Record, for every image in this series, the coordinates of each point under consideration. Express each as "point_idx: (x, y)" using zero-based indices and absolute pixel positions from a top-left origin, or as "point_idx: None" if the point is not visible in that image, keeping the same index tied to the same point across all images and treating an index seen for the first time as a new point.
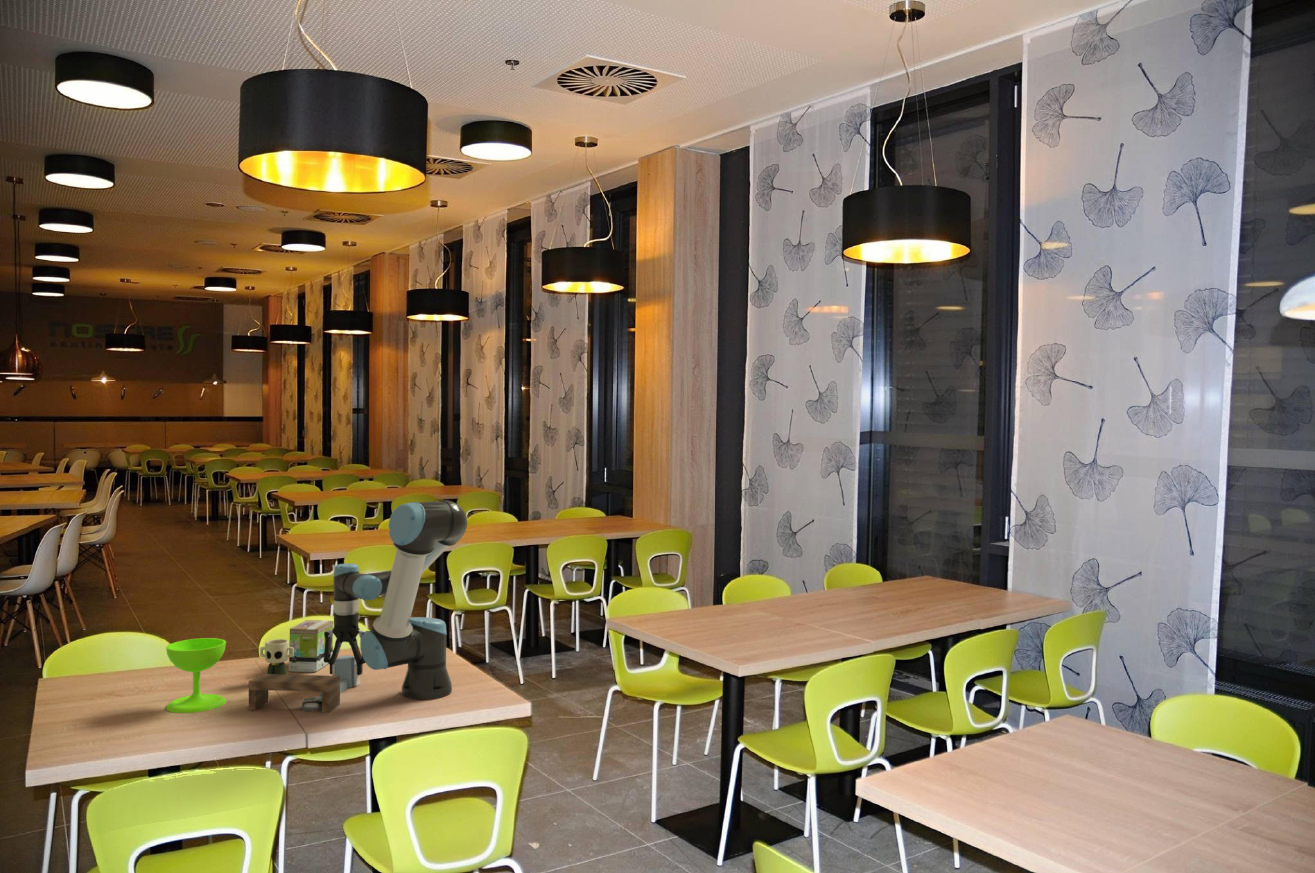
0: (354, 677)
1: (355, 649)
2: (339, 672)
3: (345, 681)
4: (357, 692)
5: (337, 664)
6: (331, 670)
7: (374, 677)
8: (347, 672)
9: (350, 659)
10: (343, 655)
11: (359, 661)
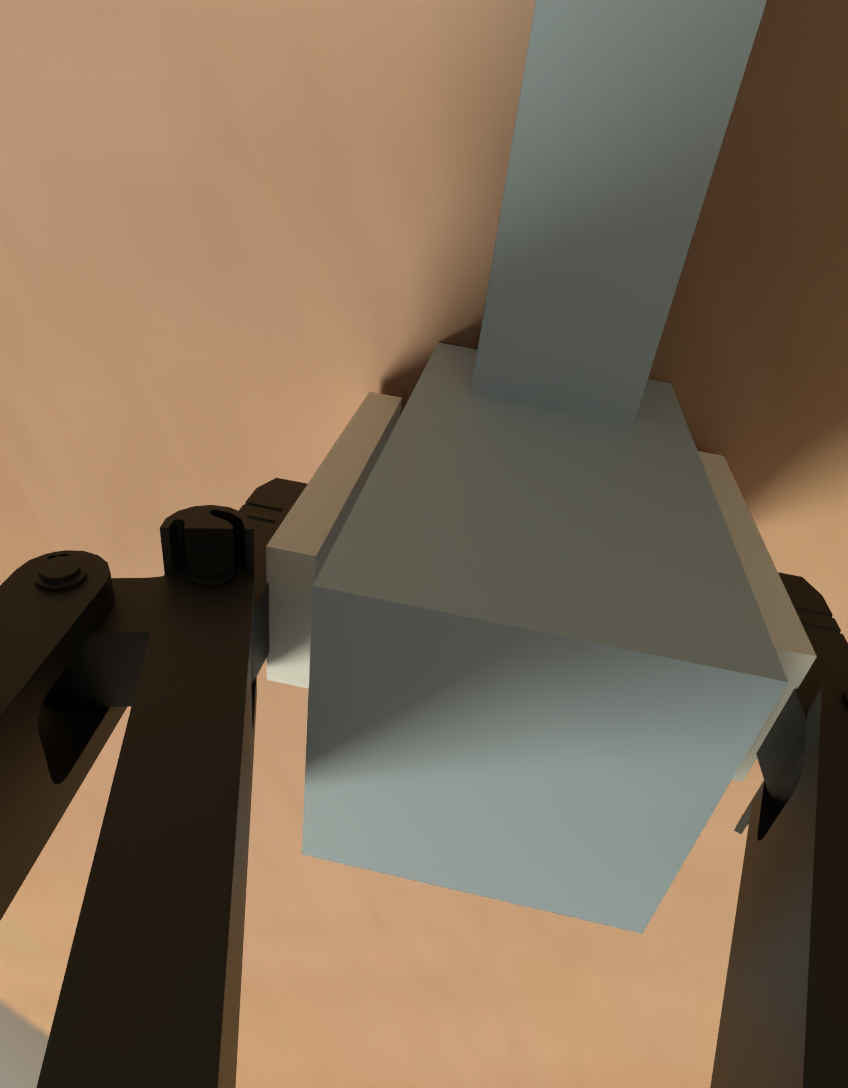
0: (370, 447)
1: (92, 892)
2: (625, 474)
3: (488, 293)
4: (257, 53)
5: (695, 577)
6: (799, 614)
7: (294, 711)
8: (459, 444)
9: (330, 603)
10: (601, 919)
11: (163, 594)
